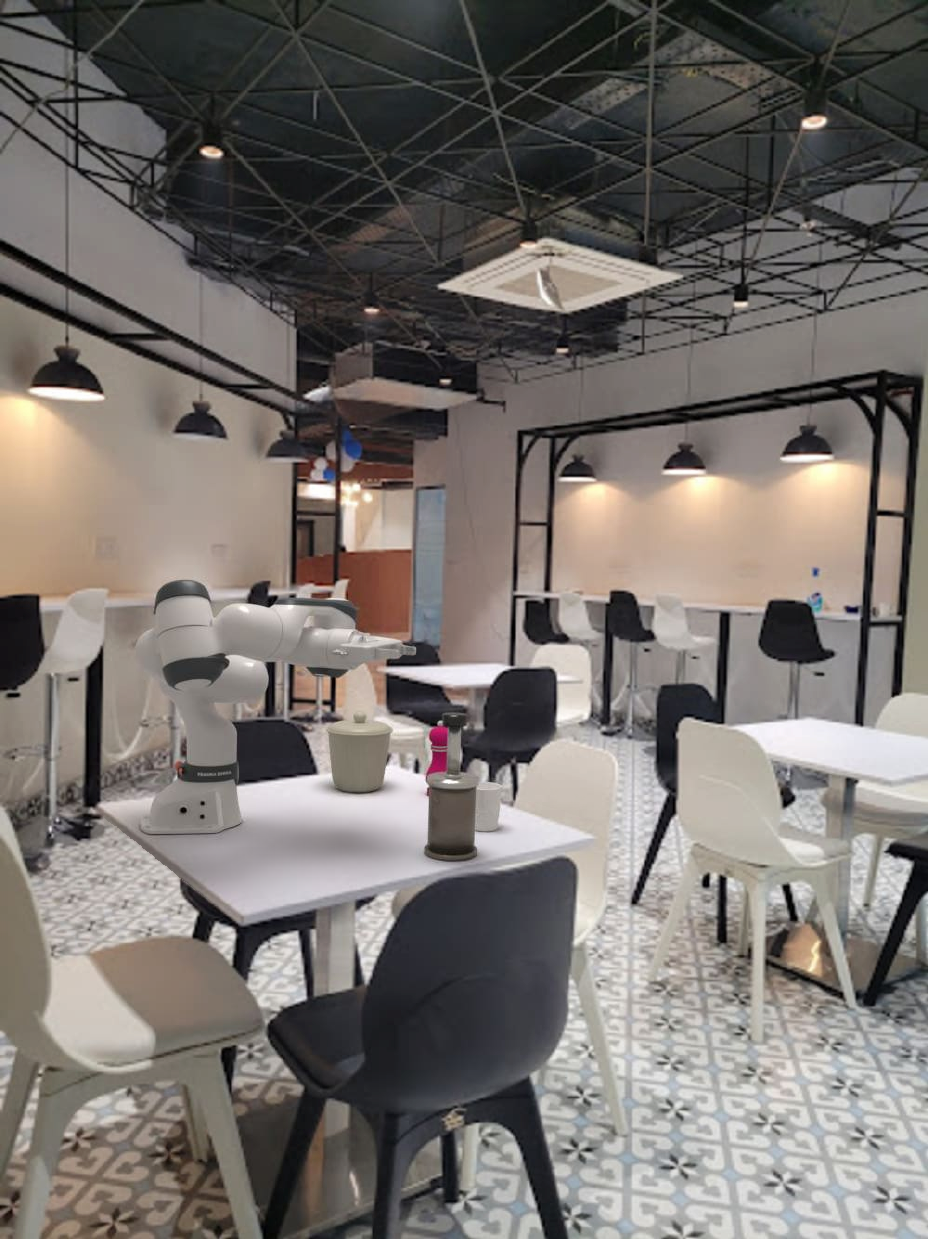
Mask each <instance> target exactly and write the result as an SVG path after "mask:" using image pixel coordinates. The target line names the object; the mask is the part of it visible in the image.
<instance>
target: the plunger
mask: <svg viewBox="0 0 928 1239" xmlns="http://www.w3.org/2000/svg"><path fill="white" fill-rule="evenodd" d="M441 721H442V725H444V726H443V727H447V728H448V743H447V774H448V775H459V774H460V772H461V753H462V752H461V747H462V727H463V728H464V727H467V726H468V714H467V713H463V712H444V713H442V720H441Z"/></svg>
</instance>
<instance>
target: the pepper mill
mask: <svg viewBox="0 0 928 1239" xmlns="http://www.w3.org/2000/svg"><path fill="white" fill-rule="evenodd" d="M428 739H429V741H430V743H431V744H430V750H431V752H432V753H431V754H432V755H431V762H430V764H429V767H428V769H427V770H426V774H425V782H426V784H427V776H428V775H429V774H432V773H437V772H447V743H448V727H447V726H444V725H442V720H439V721H437V726H435V727H433V728H432V729H430V731H429V734H428ZM426 795H427V797H429V786H427V788H426Z"/></svg>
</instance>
